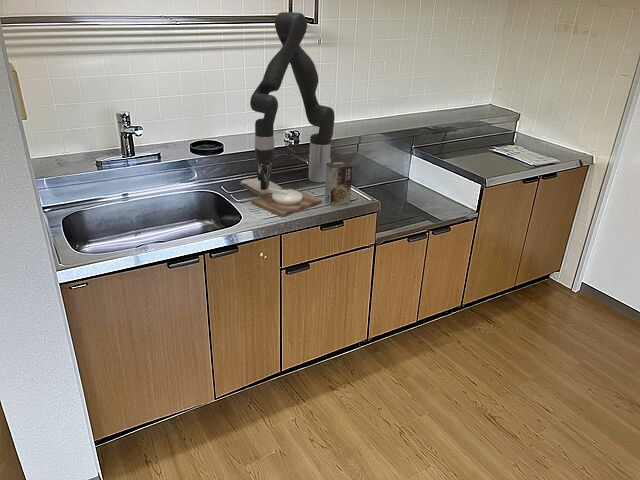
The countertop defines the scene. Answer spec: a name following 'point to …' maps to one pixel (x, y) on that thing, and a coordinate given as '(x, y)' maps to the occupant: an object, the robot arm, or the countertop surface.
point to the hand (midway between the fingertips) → (264, 187)
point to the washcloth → (258, 186)
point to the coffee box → (338, 183)
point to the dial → (284, 195)
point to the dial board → (286, 210)
